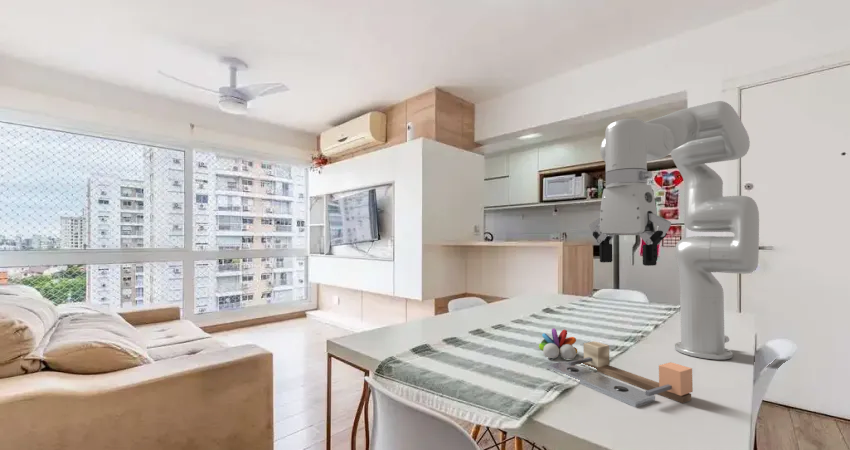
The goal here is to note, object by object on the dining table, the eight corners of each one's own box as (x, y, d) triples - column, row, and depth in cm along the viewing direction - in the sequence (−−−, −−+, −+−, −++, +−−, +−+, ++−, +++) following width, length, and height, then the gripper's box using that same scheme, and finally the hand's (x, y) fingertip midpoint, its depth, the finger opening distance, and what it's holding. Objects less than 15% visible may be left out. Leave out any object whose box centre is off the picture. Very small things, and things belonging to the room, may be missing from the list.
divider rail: (588, 362, 93) (587, 339, 93) (692, 399, 72) (692, 370, 72) (556, 369, 88) (556, 345, 88) (658, 411, 67) (658, 380, 67)
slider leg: (671, 384, 75) (670, 362, 75) (692, 391, 72) (692, 368, 72) (637, 395, 70) (636, 371, 70) (658, 403, 67) (657, 378, 67)
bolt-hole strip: (565, 365, 91) (565, 360, 91) (655, 400, 71) (655, 395, 71) (547, 369, 88) (546, 364, 88) (635, 407, 68) (635, 401, 69)
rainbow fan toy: (580, 362, 93) (580, 333, 93) (540, 360, 95) (540, 331, 95) (574, 352, 101) (573, 325, 101) (537, 350, 103) (537, 324, 103)
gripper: (680, 176, 70) (682, 266, 70) (602, 187, 86) (603, 260, 85) (655, 172, 67) (656, 267, 66) (579, 184, 83) (579, 261, 82)
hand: (626, 263), depth 76 cm, fingers open, 9 cm apart
